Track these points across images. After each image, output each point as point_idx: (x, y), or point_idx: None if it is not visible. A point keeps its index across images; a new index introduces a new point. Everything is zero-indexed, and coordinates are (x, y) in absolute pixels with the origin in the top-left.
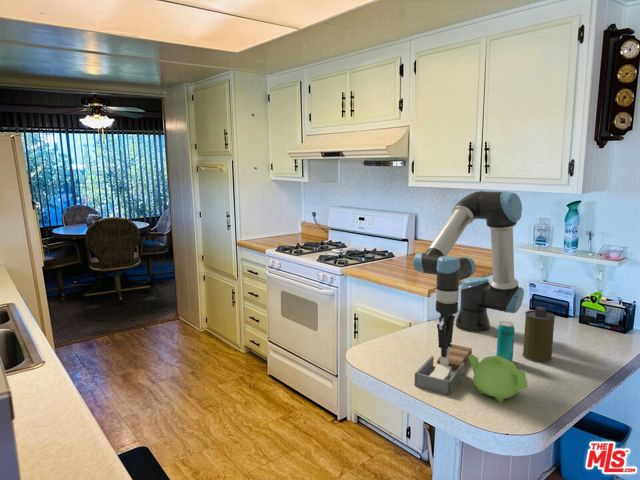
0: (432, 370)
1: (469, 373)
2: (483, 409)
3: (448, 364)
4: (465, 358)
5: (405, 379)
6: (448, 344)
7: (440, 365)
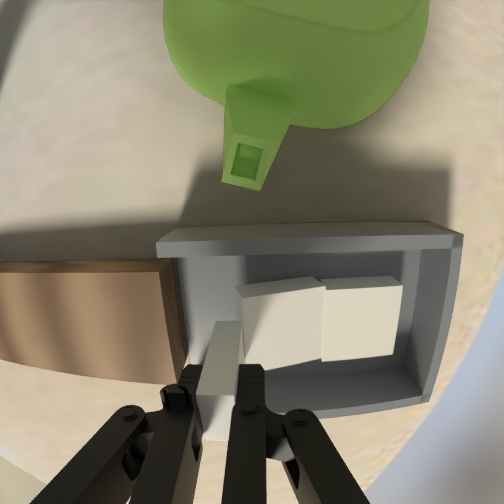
0: None
1: (143, 207)
2: (456, 69)
3: (225, 322)
4: (47, 269)
5: None
6: (194, 418)
7: (254, 355)
